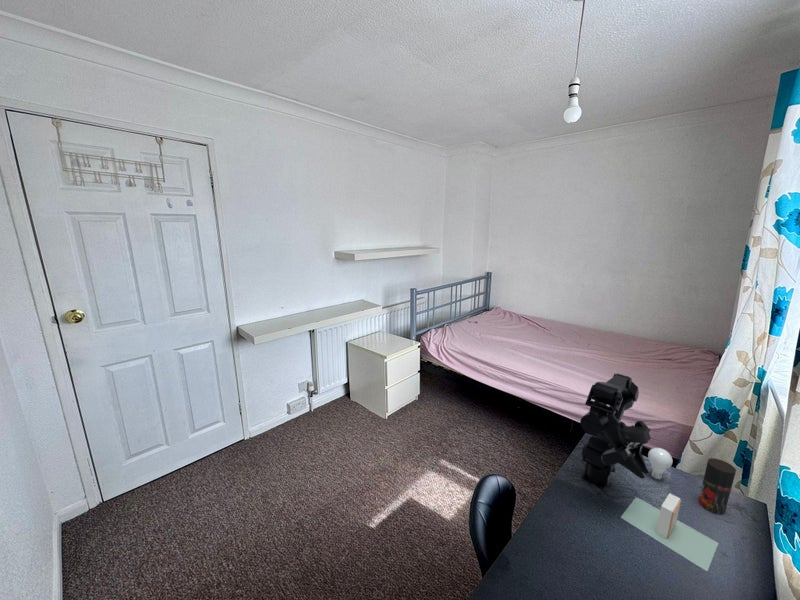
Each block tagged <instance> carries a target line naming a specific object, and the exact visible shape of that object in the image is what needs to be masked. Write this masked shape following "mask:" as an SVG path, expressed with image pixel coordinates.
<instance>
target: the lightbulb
mask: <svg viewBox="0 0 800 600" xmlns="http://www.w3.org/2000/svg"><path fill="white" fill-rule="evenodd" d="M647 456H648V457H647V458H648V461H649V462H650V464H651V469H652V471H651V476H652V477H653V478H654V479H655V480H661V479H662V478H663V474H664V472H665V471H666V470H667V469H669V468H671V466H672V465H673V458H672V455H671V454H670V452H669V451H668V450H666V449H664V448H662V447H653V448H651V449H650V450H649V451H648V453H647Z"/></svg>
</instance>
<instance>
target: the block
mask: <svg viewBox="0 0 800 600" xmlns="http://www.w3.org/2000/svg"><path fill="white" fill-rule="evenodd" d="M681 502H682V499H681V498H680V497H679V496H676V495H674V494H672V493H671V492H669V494H667V497H666V498H665V499H664V501H663V503H662V504H661V506H660V509H659V510H660V515H659V520H658V524H657V529H656V533H658V534H659V535H661V536H663V537H664V538H666V539H667V538H669V536H670V535H671V533H672V531H673V529H674V527H675V526H676V522H677V520H678V517H679V511H680V508H681V504H682V503H681Z"/></svg>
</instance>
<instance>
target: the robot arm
mask: <svg viewBox="0 0 800 600" xmlns="http://www.w3.org/2000/svg"><path fill="white" fill-rule="evenodd" d="M639 394H640V393H639V386H637V385H636V384H635V383H634V382H633V379H632V377H630V376H628V375H624V374H620V373H614V374H613V375H612V377H611V378H610V379H608V380H607V381H606V382H605V381H597V382H595V383H594V384H592V385H591V387H590V390H589V393H588V395H587V398H586V401H585V403H584V405H585V406H587V407H589V411H588V412H587V413H585V414H584V415H583V416H582V417H581V418H580V421H579V422H580V426H581V429H582V430H583V431H584V432H585V433H587V434H588V435H591V436H590V437H589V438H588V441H587V443H586V444H584V445H583V446H582V451H581V459H582V461H581V462H584V463H585V467H584V474H583V475H582V476H581V479H582V480H584V481H586V482H588V483H589V484H592V485H593V486H595V487H596V488H599V489H601V490H603V489H604V488H605V487H608V486H609V485H610V484H611V477H612V474H613V473H616V469H617V468H616V467H617V465H616V464H619V465H621V466H622V467H624V468H625V469H627V470H628V471H630V472H631V473H632V474H634V475H636V477H638V478H640V479H645V478H646V477H645V475H647V474H648V475H649V469H648V468H647V465H646V462H645V460H644V456H643V454H642V449H643V446H644V445H646V444H648V443H649V441H650V440H652V438H651V435H650V432H651V429H650V428H649V427H648V425H646V423H645V422H644V421H642V420H637V421H635V422H634V425H633V424H632V425H630V426H629V425H628V426H627V424H626V423H625V422H624V421H622V419H623V416H624V413H625V411H627V410H629V409H631V408H633V406H634V403H637V401H638V398H639Z"/></svg>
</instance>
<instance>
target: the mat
mask: <svg viewBox="0 0 800 600" xmlns="http://www.w3.org/2000/svg"><path fill="white" fill-rule="evenodd" d="M660 510H661V509H659V508H656V507H655V506H654V505H651V504H650V503H648V502H646V501H644V500H643V499H641V498H639V497H637V496H636V497H635V498H634V499H633V500H632V502H631V503H630V505H629V506H628V507H627V508H626V509H625V511H624V512H623V514H622V515H621V516H620V519H622V520H624V521H625V522H627V523H629V524H630V525H632V526H634V527H635V528H637V529H638V530H640V531H641V532H643V533H645V534H646V535H647V536H649V537H651V538H652V539H654V540H656V541H657V542H659V543H661V544H662V545H664V546H666V547H667V548H669V549H670V550H672V551H673V552H675V553H677V554H678V555H680V556H681V557H683V558H685V559H686V560H688V561H690V563H691V562H692V564H694V565H696V566H698V567H700V568H701V569H703V571H706V572H708V571H709V569H710V566H711V563H712V561H713V559H714V555H715V554H716V551H717V548H718V546H719V542H717V541H716V540H714V539H712V538H710V537H709V536H707V535H705V534H704V533H701V532H699V531H697V529H694V528H693V527H691V526H689V525H687V524H685V523H683V522H681V521H680V520H678V519H677V522H676V526H675V527H674V529H673V531H672V533H671V535H670V536H669V538H667V539H666V538H664V537H663V536H661V535H659V534H658V533H656V529H657V524H658V520H659V515H660Z"/></svg>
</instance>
